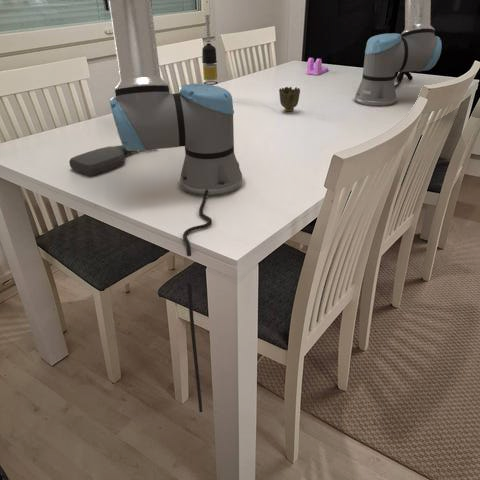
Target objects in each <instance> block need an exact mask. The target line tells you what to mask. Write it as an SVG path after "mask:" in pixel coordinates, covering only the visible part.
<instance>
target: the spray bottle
mask: <svg viewBox="0 0 480 480" xmlns="http://www.w3.org/2000/svg"><path fill="white" fill-rule="evenodd" d="M133 153H138V151H128V150H126V149H125V148H124V147H123V145H122V144H121V145H113V146H105V147H100V148H97V149H94V150H90V151H87V152H83V153H81V154H78V155H74V156H73V157H70V159H69V161H68V162H69V167H70V168H71V169H72V170H74V171H75V172H78V173H81V174H83V175H85V176H89V177H90V176H91V177H92V176H95V175H99V174H102V173H105V172H107V171H110V170H113V169H116V168H118V167H120V166H122V165H123V164H124V163H125V158H126V156H127V155H131V154H133Z"/></svg>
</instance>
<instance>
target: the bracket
mask: <svg viewBox="0 0 480 480" xmlns="http://www.w3.org/2000/svg"><path fill="white" fill-rule="evenodd" d="M322 63H323V61H322V58H316V60H315V59H314V57H308V59H307V66H306V74H307V75H314V76H319V75H321V74H323V73H326V72H328V71H329V67H328V66H322Z"/></svg>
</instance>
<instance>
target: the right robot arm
mask: <svg viewBox="0 0 480 480" xmlns="http://www.w3.org/2000/svg"><path fill="white" fill-rule="evenodd" d="M431 1H432V0H404V30H403V31H402V32H401V33H394V32H392V33H391V32H390V33H381V34H376V35H374V36H371V37H369V39H368V40H367V42H366V45H365V50H364V61H363V69H362V77H361V81H360V84H359V85H358V88H357V90H356V93H355V95H354V101H355V102H356V103H358V104H360V105H364V106H371V107H387V106H392V105H395V104H396V103H397V92H396V88H397V87H399V86H400V85H401V83H402V81H399V82H398V83H396V84H395V79H396V78H395V72H398V73H400V72H423V71H424V72H425V71H430V70H431V69H432V68H434V67H435V65H436V64H437V62H438V61H439V59H440V56H441V53H442V47H443V46H442V40H441V37H439V36H437V35H436V34H435V33H436V29H435V28H434V27H433V26H432V25H431V6H432V5H431V4H432V3H431ZM460 5H461V0H453V4H452V12H453V11H459V10H460ZM394 78H395V79H394Z"/></svg>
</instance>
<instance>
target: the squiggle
mask: <svg viewBox="0 0 480 480" xmlns="http://www.w3.org/2000/svg"><path fill="white" fill-rule="evenodd" d="M404 76H406V78H407V80H408V81H412V80H413V79H414V77H413V75H412V74H411V73H410V71H408V72H395V78H394V80H395V79H396V81H397V82H398V83H399V81H401V82H402V81H403V79H404Z"/></svg>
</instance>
